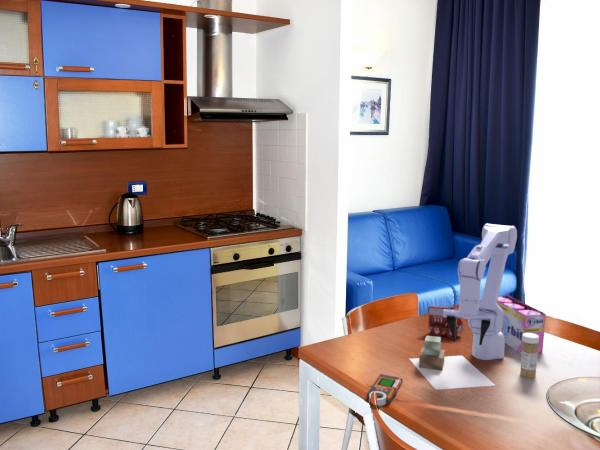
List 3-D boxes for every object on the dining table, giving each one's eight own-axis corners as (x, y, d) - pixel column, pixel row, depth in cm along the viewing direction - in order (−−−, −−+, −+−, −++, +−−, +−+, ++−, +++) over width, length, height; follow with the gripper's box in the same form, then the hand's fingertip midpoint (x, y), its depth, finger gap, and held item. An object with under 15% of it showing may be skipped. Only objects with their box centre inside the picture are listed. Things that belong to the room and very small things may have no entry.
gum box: (484, 330, 207) (486, 294, 205) (503, 328, 209) (505, 293, 207) (522, 354, 184) (525, 315, 182) (543, 352, 186) (546, 313, 184)
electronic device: (364, 396, 150) (380, 372, 164) (364, 406, 151) (380, 381, 164) (388, 401, 147) (403, 376, 161) (388, 411, 148) (403, 386, 161)
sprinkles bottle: (532, 374, 169) (535, 332, 167) (538, 381, 164) (541, 337, 162) (517, 374, 169) (519, 332, 167) (523, 381, 164) (526, 337, 162)
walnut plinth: (444, 361, 176) (444, 349, 175) (442, 370, 170) (442, 358, 169) (421, 358, 178) (422, 347, 178) (419, 367, 172) (419, 355, 171)
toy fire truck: (462, 339, 197) (463, 311, 196) (426, 336, 201) (427, 308, 199) (462, 333, 204) (463, 305, 202) (427, 330, 207) (428, 303, 205)
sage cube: (440, 350, 175) (441, 337, 174) (439, 356, 170) (439, 342, 170) (425, 349, 176) (426, 335, 175) (424, 354, 172) (424, 340, 171)
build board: (461, 357, 181) (461, 355, 181) (495, 387, 160) (495, 385, 160) (408, 361, 179) (408, 358, 178) (435, 392, 157) (435, 389, 157)
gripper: (443, 299, 164) (441, 343, 166) (495, 305, 159) (492, 350, 161) (445, 293, 170) (443, 335, 173) (495, 298, 165) (492, 341, 168)
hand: (467, 342), depth 167 cm, fingers open, 7 cm apart
